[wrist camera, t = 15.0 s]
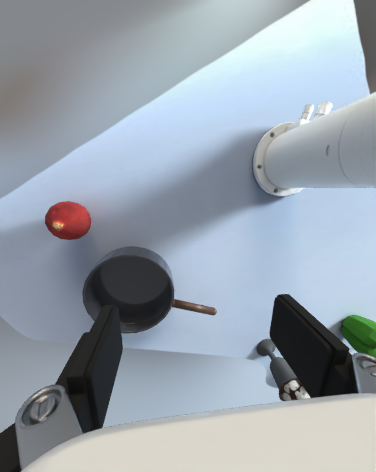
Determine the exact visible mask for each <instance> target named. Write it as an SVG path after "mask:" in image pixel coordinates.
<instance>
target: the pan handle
mask: <svg viewBox="0 0 376 472" xmlns="http://www.w3.org/2000/svg"><path fill="white" fill-rule="evenodd" d="M172 307H175V308H180V309H184V310H189V311H194V312H199V313H204V314H209V315H215V314H216V312H217V311H216V309H215V308H213V307H208V306H203V305H199V304H194V303H189V302H185V301H180V300H176V299H174V301H173V304H172Z"/></svg>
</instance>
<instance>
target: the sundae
mask: <svg viewBox="0 0 376 472" xmlns="http://www.w3.org/2000/svg"><path fill="white" fill-rule="evenodd" d="M275 347H276V346H275V344H274V343H273V341H272V340H271V339H266V340H263V341H261V342H260V343H259V345H258V347H257V352H258V354H259V355H262V356H267V355H269V357H270V358H271V360H272V361H271V363H270V370H271V372H272V375H273V377H274V379H275V382H276V384H277V386H278V388H279V397H280V399H281V400H282V401H292V400H300V399H308V398H311V397H310V396H309V394H308V393H307V392H306V390H305V389H304V387H303V386H302V384H301V383H300V381H299V380H298V378H297V377H296V375H295V374H294V372H293V371H292V369H291V368H290V366H289V365H288V364H287V362H286V361H285V359H283V358H280V357H275V355H274V354H273V351H274V350H275Z"/></svg>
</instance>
